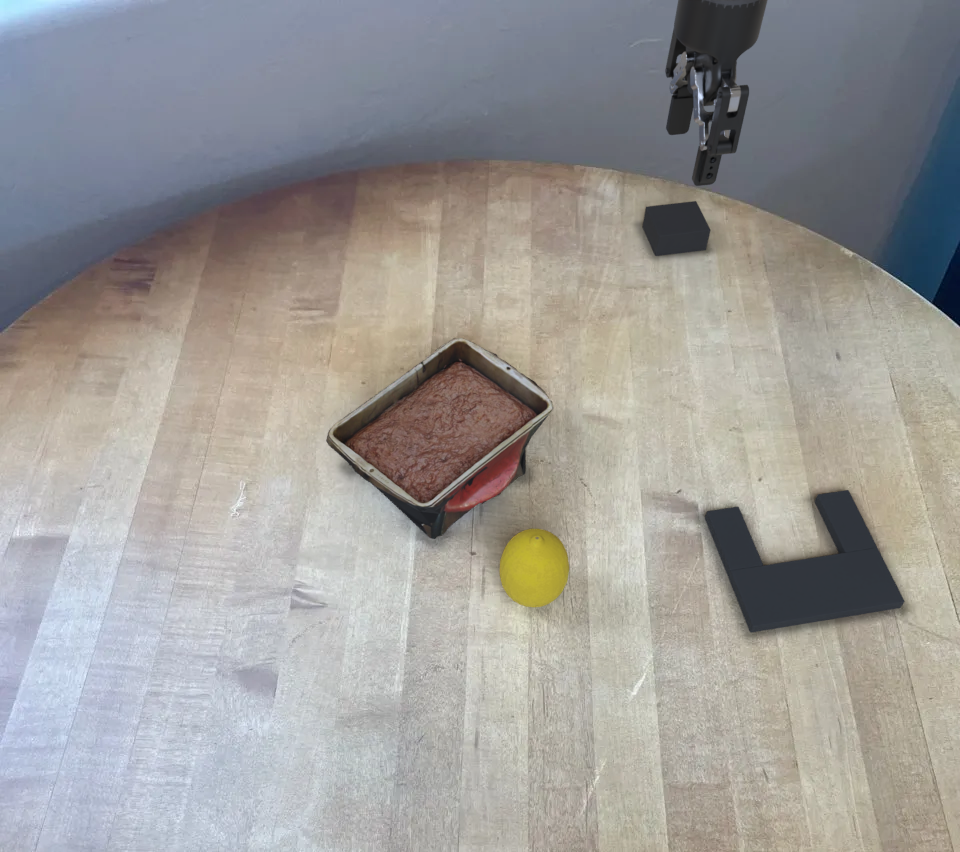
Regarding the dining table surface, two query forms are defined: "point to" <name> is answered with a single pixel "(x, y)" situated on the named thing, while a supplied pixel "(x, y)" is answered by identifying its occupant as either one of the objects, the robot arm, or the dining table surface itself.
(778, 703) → the dining table surface
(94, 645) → the dining table surface
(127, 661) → the dining table surface
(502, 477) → the baking dish
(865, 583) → the charcoal pad
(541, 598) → the lemon
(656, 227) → the black block
